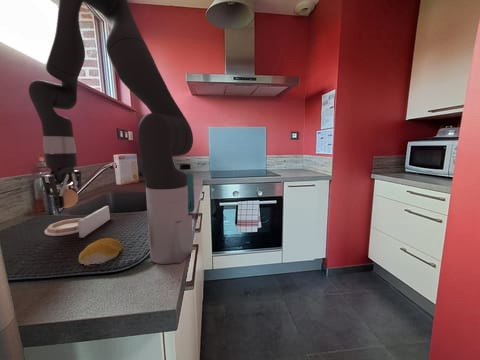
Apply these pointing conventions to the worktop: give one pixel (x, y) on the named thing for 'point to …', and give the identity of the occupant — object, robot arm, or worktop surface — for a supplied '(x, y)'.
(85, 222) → the wall
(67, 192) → the ball
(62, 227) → the saucer
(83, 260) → the bread roll
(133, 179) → the cracker box
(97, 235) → the worktop surface
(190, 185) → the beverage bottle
